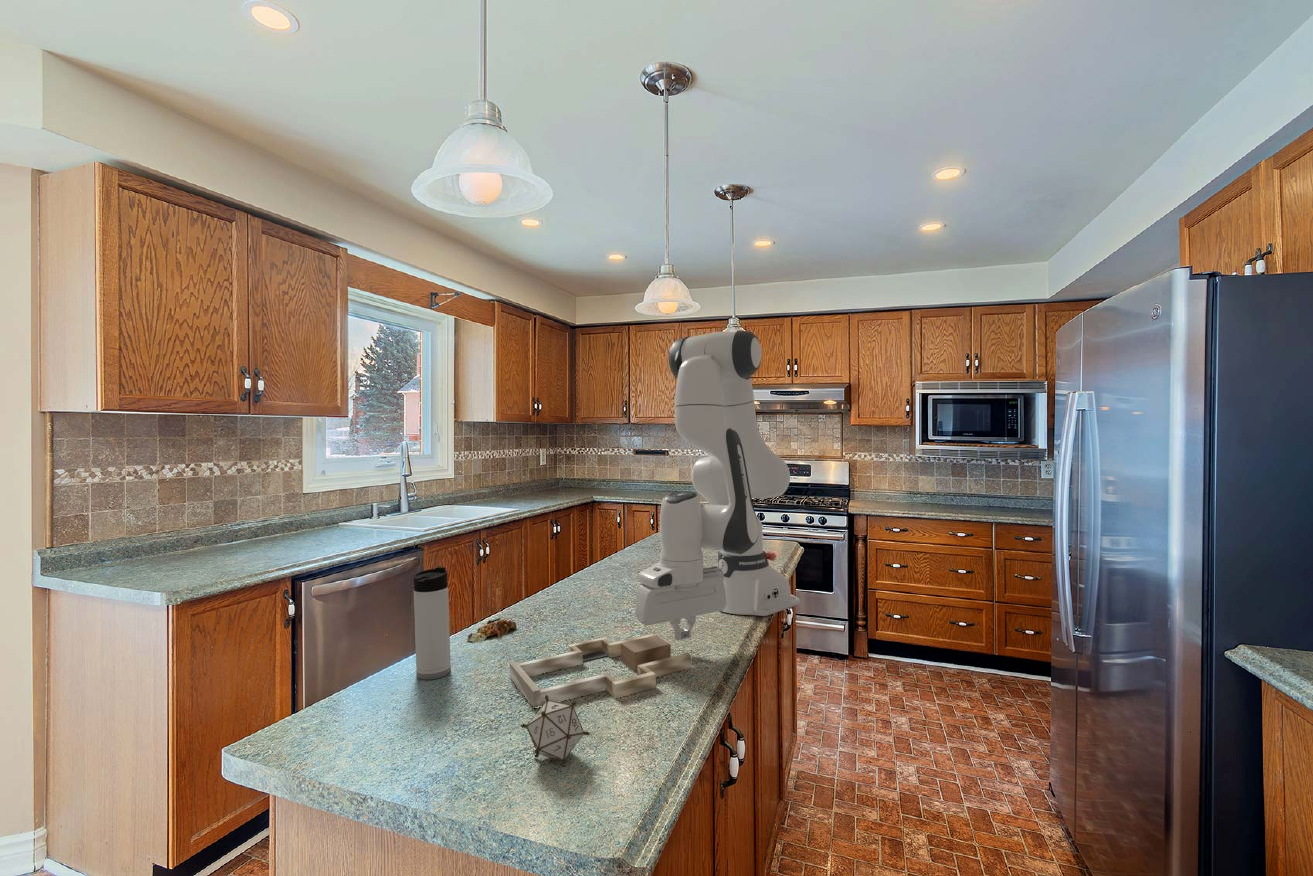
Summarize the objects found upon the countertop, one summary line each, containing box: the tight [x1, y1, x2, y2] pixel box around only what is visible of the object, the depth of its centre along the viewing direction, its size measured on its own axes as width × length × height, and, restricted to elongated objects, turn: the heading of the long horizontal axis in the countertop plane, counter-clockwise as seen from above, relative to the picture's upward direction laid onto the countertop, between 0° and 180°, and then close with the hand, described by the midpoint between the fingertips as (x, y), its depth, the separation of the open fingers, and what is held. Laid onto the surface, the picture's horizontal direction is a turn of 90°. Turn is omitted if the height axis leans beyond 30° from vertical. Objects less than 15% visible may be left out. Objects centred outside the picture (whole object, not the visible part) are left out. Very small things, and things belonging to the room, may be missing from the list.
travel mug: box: [413, 566, 452, 681], centre depth 115 cm, size 6×7×20 cm
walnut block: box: [620, 634, 672, 673], centre depth 117 cm, size 8×6×4 cm
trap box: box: [509, 633, 692, 709], centre depth 113 cm, size 31×22×3 cm
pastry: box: [466, 616, 517, 644], centre depth 137 cm, size 7×12×4 cm, turn 152°
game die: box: [520, 695, 591, 765], centre depth 84 cm, size 9×8×10 cm
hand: (683, 638), depth 121 cm, fingers closed
